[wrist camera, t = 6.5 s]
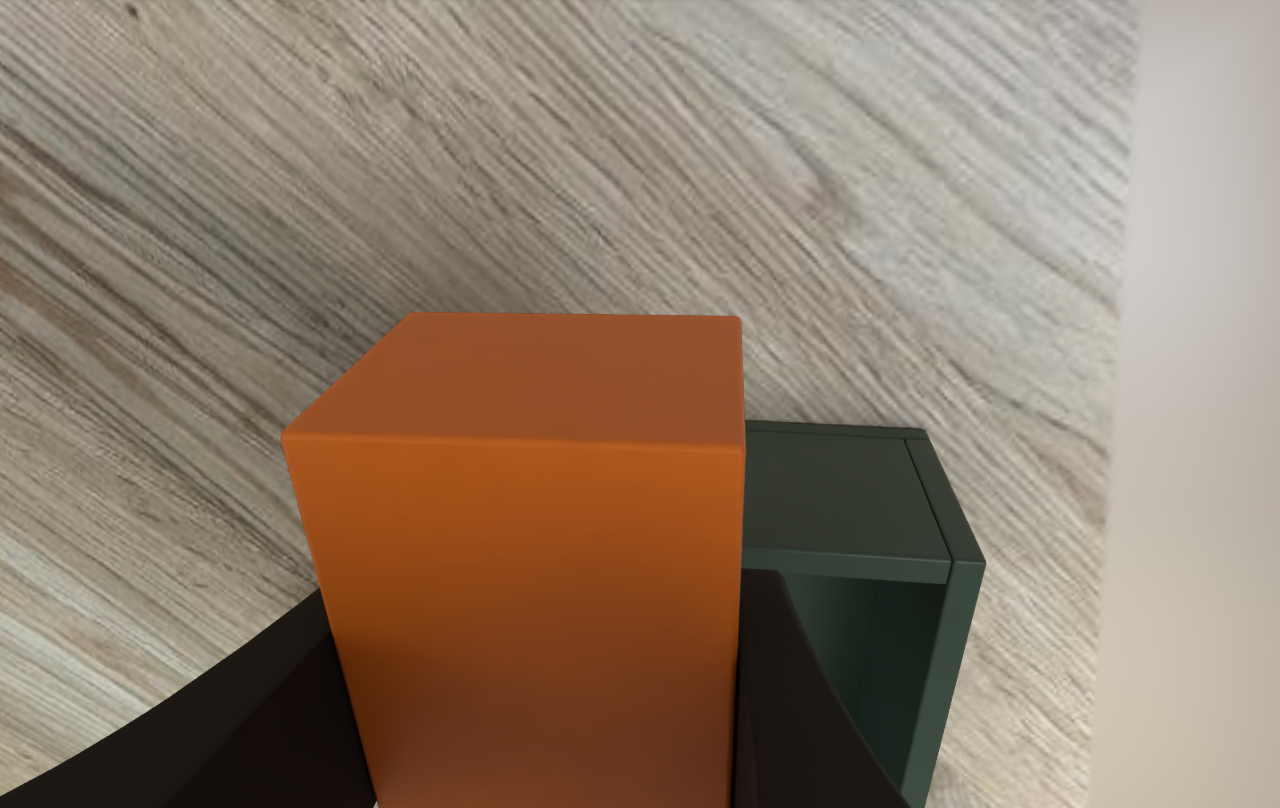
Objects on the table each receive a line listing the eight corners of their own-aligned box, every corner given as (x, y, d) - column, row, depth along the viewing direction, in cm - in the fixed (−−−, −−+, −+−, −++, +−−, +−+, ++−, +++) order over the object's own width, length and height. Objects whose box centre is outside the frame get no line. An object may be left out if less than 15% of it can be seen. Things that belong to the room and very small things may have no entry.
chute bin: (925, 428, 18) (987, 562, 14) (859, 778, 24) (888, 954, 19) (424, 403, 19) (333, 519, 15) (471, 743, 25) (414, 901, 20)
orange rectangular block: (741, 314, 10) (746, 447, 7) (726, 742, 14) (725, 956, 11) (409, 310, 11) (275, 433, 7) (478, 725, 14) (407, 925, 11)
